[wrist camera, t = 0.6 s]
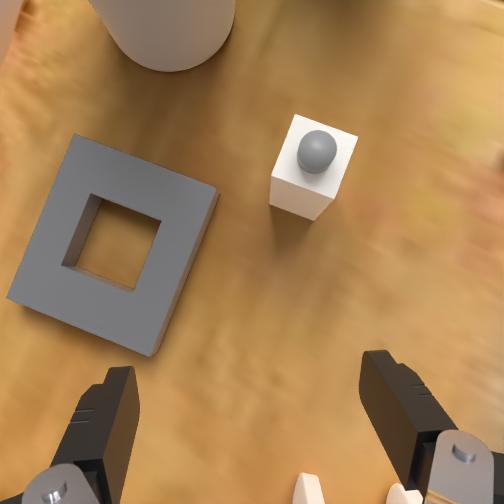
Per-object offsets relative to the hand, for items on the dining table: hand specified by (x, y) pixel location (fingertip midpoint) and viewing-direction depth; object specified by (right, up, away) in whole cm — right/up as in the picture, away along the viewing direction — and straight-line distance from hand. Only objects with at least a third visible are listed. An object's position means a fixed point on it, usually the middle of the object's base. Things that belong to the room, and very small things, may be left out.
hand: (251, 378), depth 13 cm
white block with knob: (+5, +10, +22) cm, 25 cm away
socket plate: (-12, +5, +23) cm, 26 cm away
